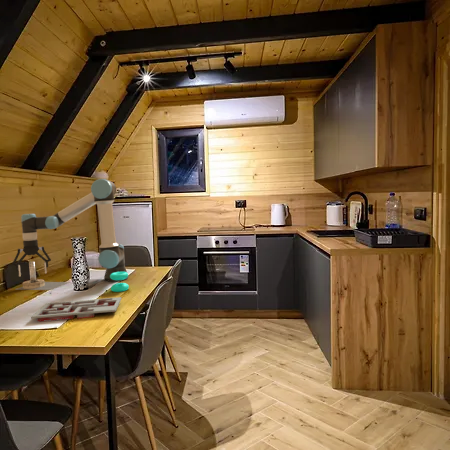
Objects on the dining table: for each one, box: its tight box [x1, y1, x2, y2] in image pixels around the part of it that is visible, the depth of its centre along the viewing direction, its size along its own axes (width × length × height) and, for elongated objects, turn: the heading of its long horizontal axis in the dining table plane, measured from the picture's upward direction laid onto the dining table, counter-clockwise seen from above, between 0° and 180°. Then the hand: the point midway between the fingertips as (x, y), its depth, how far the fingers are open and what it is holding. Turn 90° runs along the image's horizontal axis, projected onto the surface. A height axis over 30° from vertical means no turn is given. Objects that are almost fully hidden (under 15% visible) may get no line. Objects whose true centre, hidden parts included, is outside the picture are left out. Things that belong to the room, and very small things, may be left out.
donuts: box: [110, 271, 130, 293], centre depth 195 cm, size 10×10×10 cm
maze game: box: [30, 296, 122, 322], centre depth 158 cm, size 35×20×3 cm, turn 100°
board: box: [14, 281, 71, 291], centre depth 206 cm, size 24×18×2 cm
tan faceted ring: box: [22, 278, 45, 289], centre depth 205 cm, size 11×11×3 cm
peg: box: [28, 261, 37, 283], centre depth 204 cm, size 3×3×15 cm
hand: (33, 274), depth 204 cm, fingers open, 13 cm apart
